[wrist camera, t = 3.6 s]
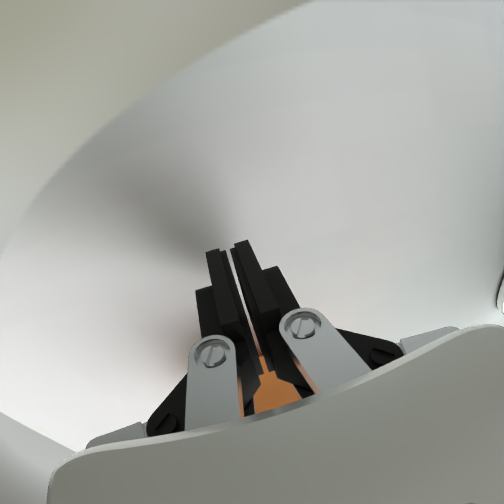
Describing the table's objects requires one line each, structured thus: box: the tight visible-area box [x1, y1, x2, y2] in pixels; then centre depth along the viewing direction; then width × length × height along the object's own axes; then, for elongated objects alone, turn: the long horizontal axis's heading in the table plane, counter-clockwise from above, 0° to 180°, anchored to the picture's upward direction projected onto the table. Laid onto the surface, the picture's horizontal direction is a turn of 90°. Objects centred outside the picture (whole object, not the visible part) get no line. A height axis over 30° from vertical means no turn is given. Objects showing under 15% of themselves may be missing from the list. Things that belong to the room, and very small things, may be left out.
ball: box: [254, 356, 299, 413], centre depth 15 cm, size 6×6×6 cm
